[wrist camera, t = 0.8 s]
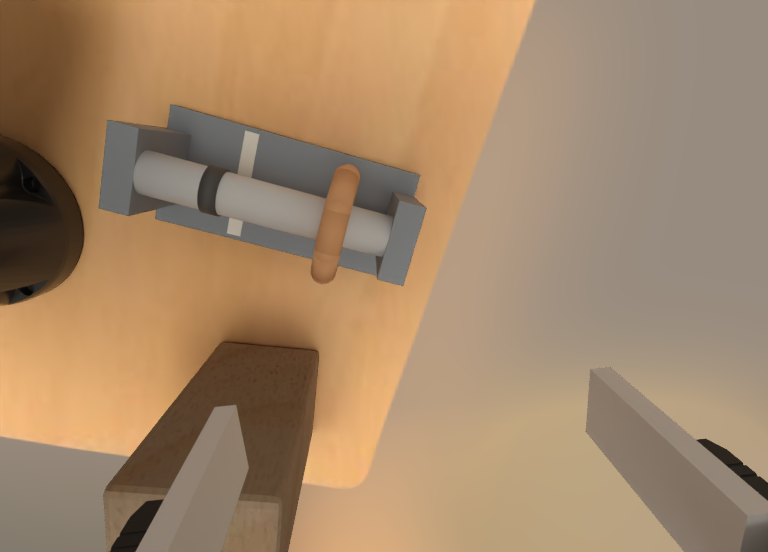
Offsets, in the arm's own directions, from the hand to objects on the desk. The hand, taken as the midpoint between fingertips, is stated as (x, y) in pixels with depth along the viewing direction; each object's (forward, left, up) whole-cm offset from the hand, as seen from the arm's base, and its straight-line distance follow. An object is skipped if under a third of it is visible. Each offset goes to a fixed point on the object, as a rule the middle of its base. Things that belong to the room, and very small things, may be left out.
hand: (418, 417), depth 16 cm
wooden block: (-8, -17, -26) cm, 32 cm away
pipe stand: (-10, +3, -26) cm, 28 cm away
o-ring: (-5, +3, -23) cm, 23 cm away
